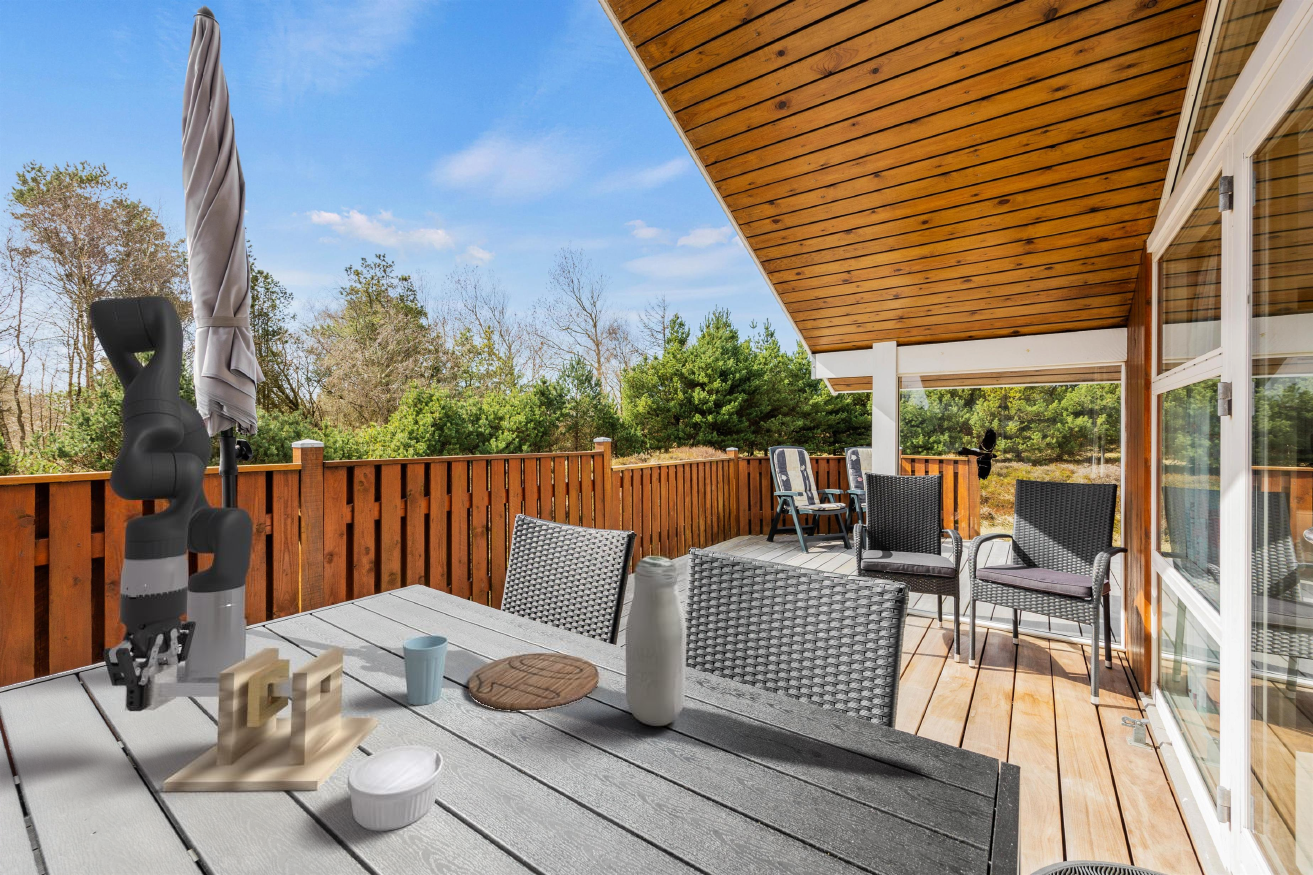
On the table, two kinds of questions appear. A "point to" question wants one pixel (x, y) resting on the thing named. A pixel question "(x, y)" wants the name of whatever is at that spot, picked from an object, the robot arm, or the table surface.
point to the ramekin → (394, 786)
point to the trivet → (533, 681)
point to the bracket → (277, 732)
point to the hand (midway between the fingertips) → (150, 702)
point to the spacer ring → (265, 693)
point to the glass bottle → (655, 644)
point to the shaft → (193, 686)
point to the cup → (424, 668)
